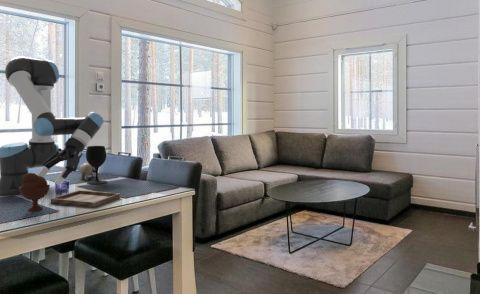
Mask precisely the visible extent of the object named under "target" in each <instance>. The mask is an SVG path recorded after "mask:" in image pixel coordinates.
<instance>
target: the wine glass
mask: <svg viewBox="0 0 480 294" xmlns="http://www.w3.org/2000/svg"><path fill="white" fill-rule="evenodd" d="M86 147H87V148H86V152H85V158H86V161H87V162H88V163H89V164H90V165H91V166H92V167H94V168H95V170H94V171H95V179H94V180H90V181H89V180H88V181H87V182H86V184H87V185H92V186H93V185H103V184H106V183H107V182H108V181H107V180H102V179H99V174H98V173H99V172H98V171H99V168H100V167H102V165H103V164H104V163H105V162H106V159H107V151H106V150H107V149H106V147H105V146H104V145H89V146H88V145H87V146H86Z"/></svg>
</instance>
